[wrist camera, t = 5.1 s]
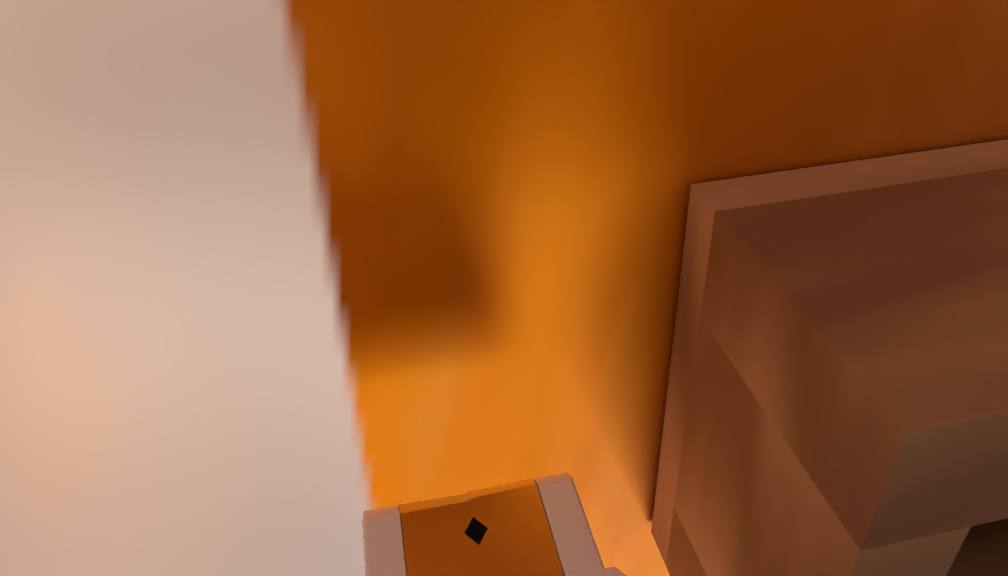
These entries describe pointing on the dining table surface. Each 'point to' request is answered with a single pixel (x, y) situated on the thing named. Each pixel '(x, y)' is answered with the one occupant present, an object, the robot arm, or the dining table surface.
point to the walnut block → (842, 372)
